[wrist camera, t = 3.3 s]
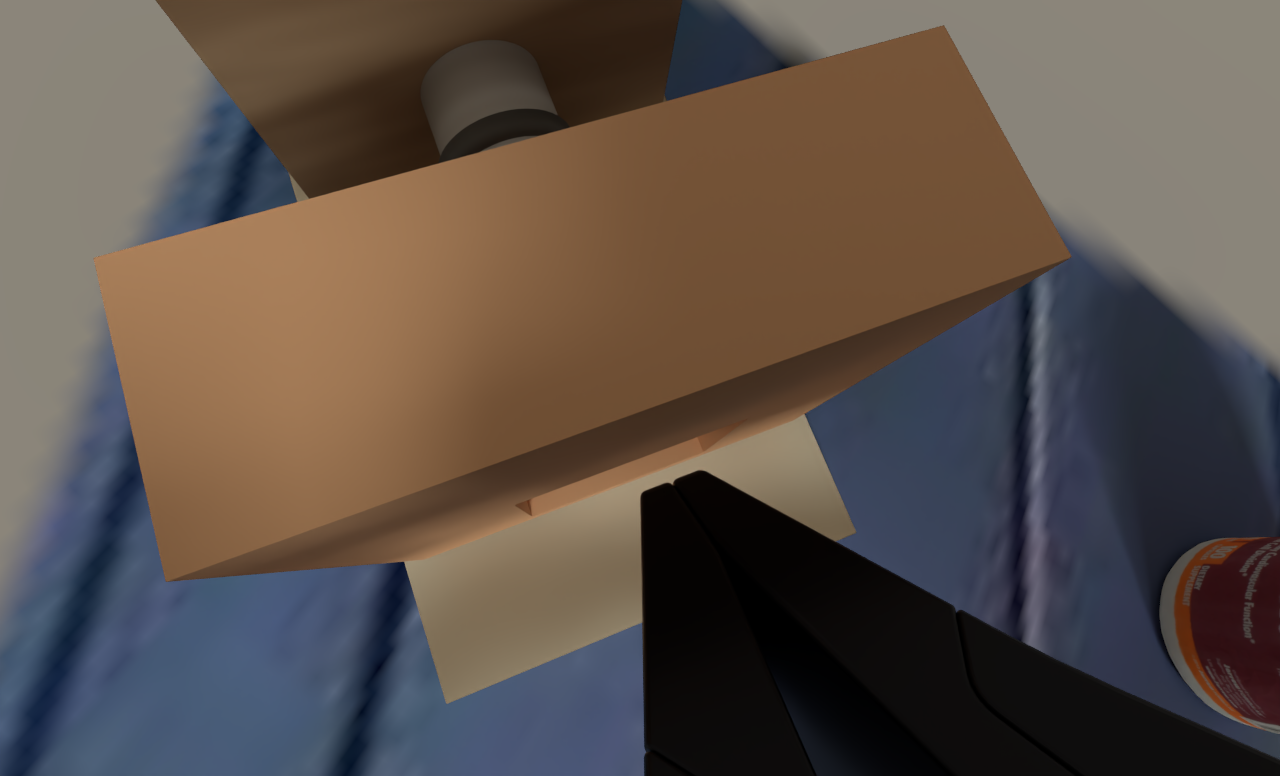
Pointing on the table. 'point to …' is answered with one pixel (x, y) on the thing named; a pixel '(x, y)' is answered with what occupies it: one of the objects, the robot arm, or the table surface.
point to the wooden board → (559, 310)
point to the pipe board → (453, 128)
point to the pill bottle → (1228, 626)
